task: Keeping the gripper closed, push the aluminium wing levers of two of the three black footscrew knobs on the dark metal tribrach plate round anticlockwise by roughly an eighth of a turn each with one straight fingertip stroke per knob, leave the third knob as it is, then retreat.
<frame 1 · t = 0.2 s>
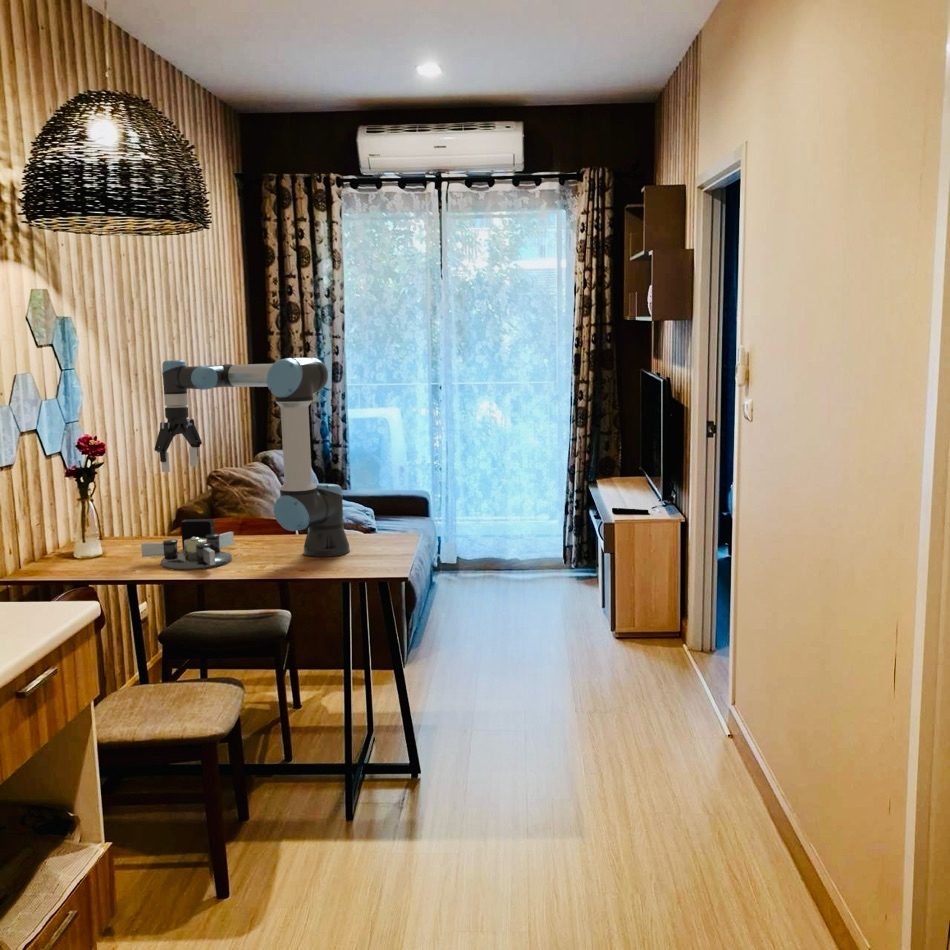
hand: (180, 469, 328), 28 cm above the table, fingers open, 13 cm apart
knob A: (160, 549, 310), point 4 cm above the table, hinge at 0.0°
knob C: (220, 541, 321), point 4 cm above the table, hinge at 0.0°
knob B: (206, 555, 301), point 4 cm above the table, hinge at 0.0°
tribrach: (196, 562, 312), on the table
electronic device: (199, 549, 331), on the table
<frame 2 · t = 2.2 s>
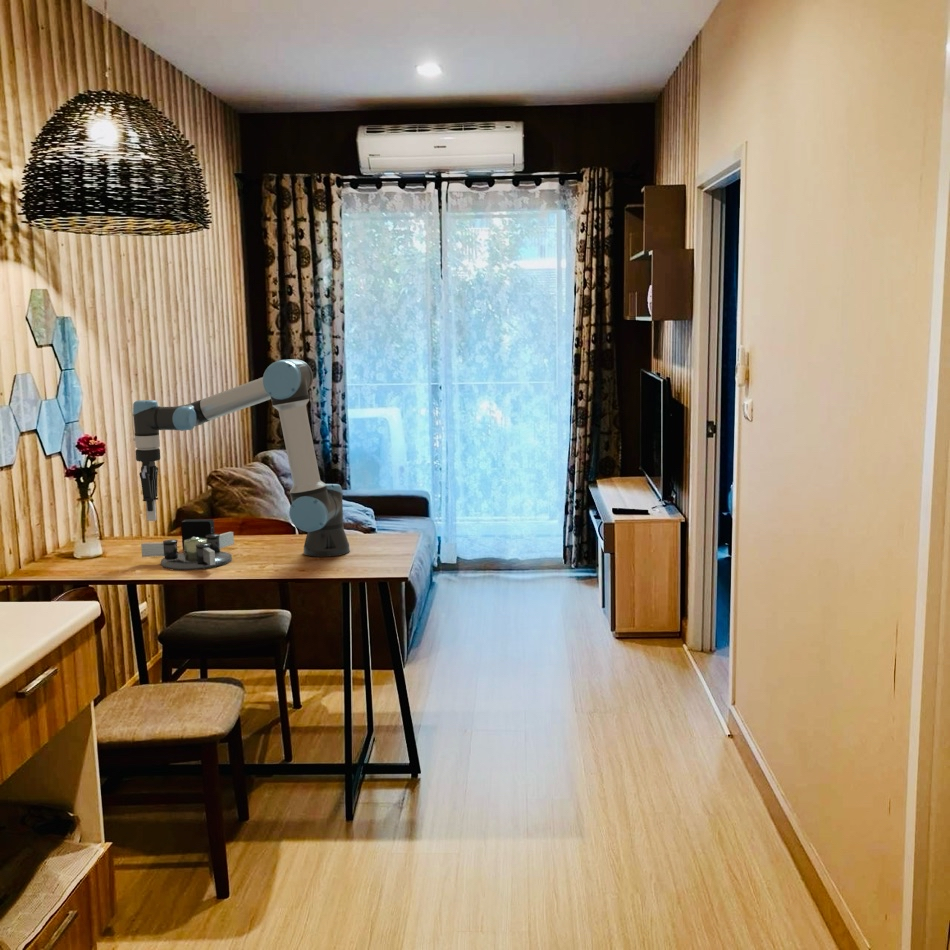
hand: (151, 520, 314), 13 cm above the table, fingers closed
nothing on the table moved.
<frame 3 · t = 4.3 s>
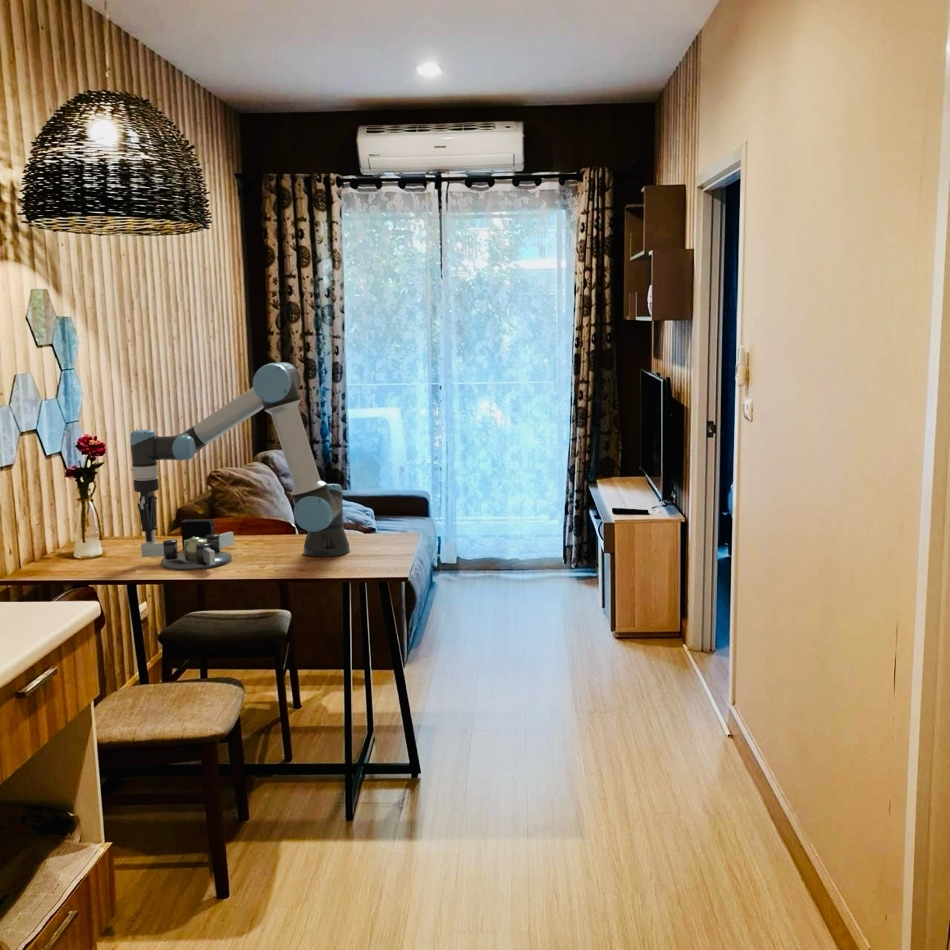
hand: (151, 550, 312), 4 cm above the table, fingers closed
knob A: (159, 549, 310), point 4 cm above the table, hinge at 1.8°, touching gripper
everything else where it was.
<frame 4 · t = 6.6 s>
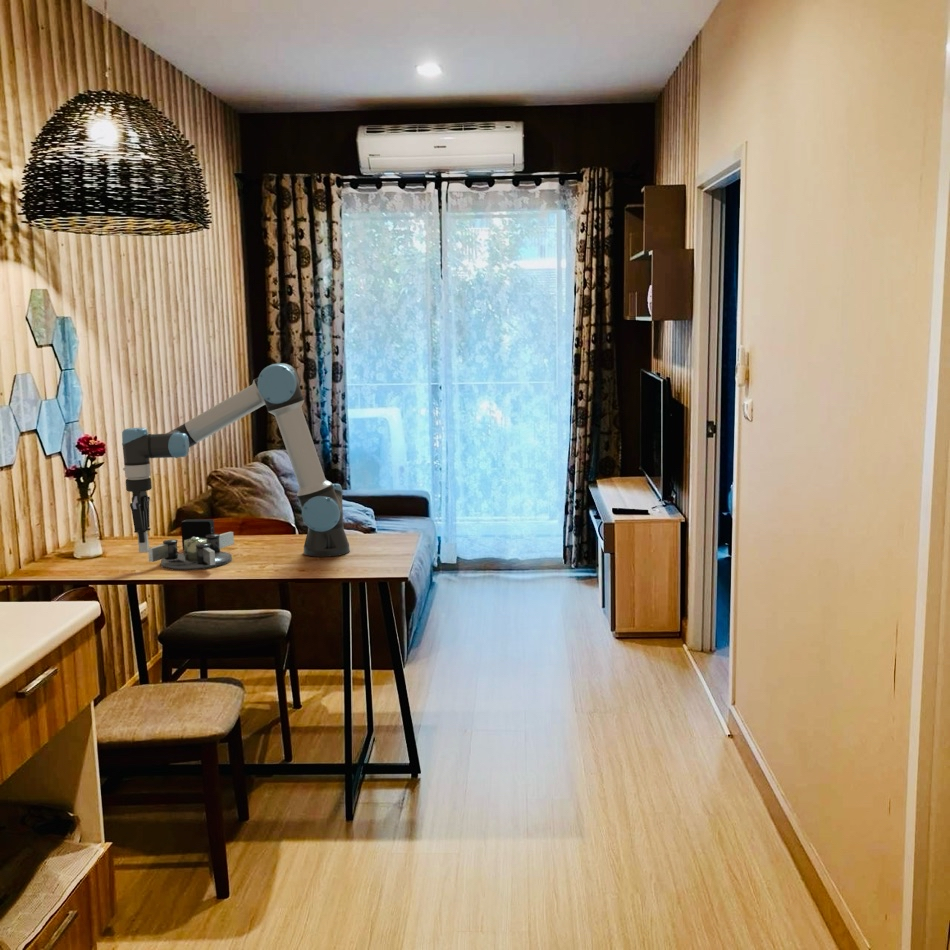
hand: (144, 551, 303), 5 cm above the table, fingers closed
knob A: (163, 551, 308), point 4 cm above the table, hinge at 62.6°
everything else where it was.
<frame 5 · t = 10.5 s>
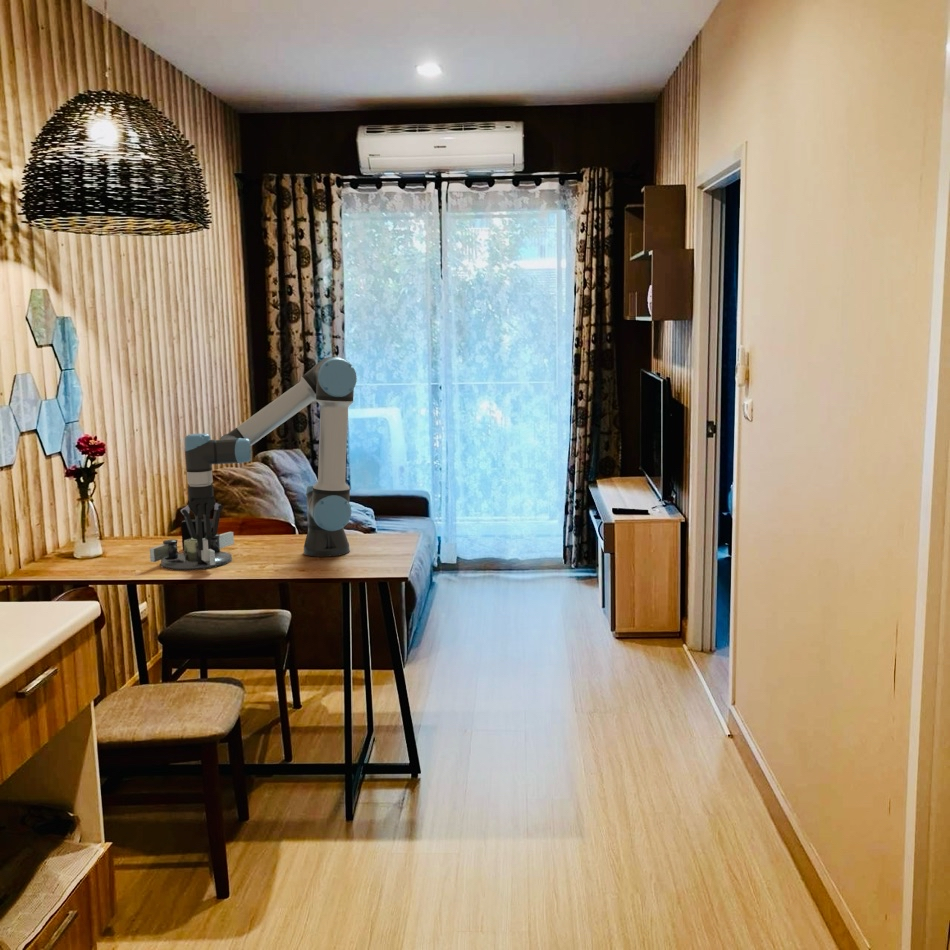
hand: (205, 559, 298), 4 cm above the table, fingers closed
knob A: (163, 551, 307), point 4 cm above the table, hinge at 66.5°
knob B: (206, 555, 301), point 4 cm above the table, hinge at 0.0°, touching gripper
everything else where it was.
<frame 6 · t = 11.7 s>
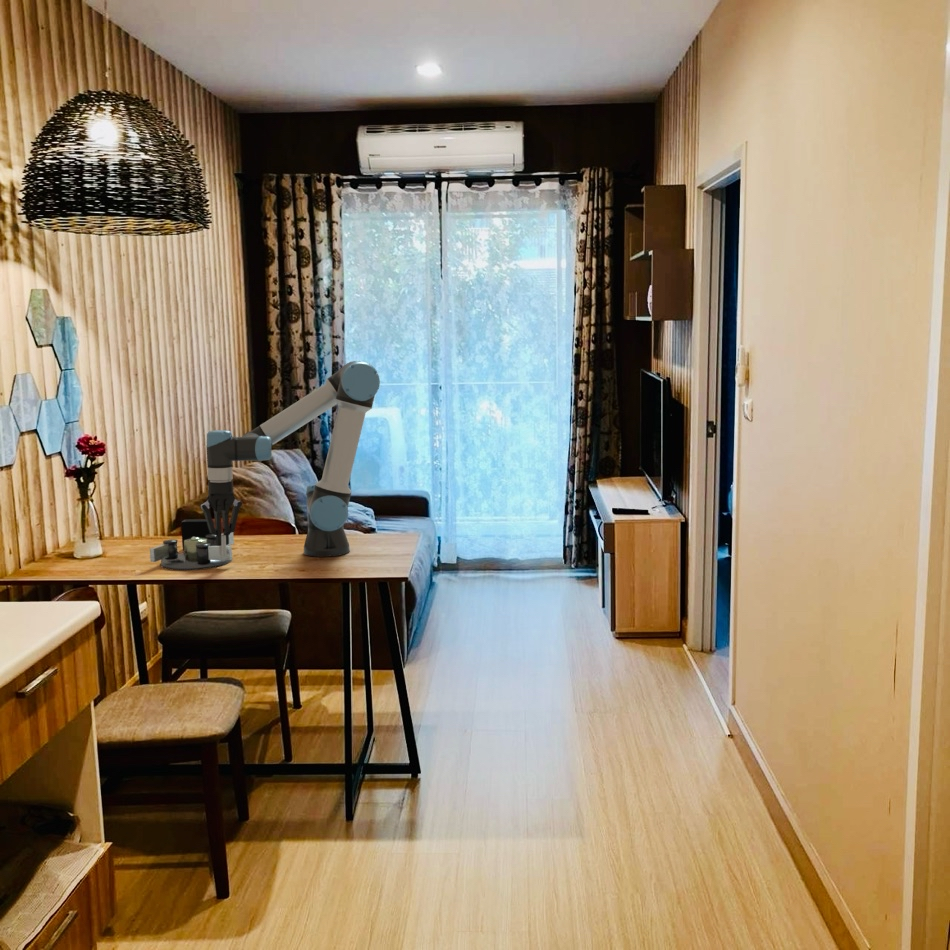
hand: (222, 555, 301), 4 cm above the table, fingers closed
knob B: (213, 553, 304), point 4 cm above the table, hinge at 49.4°, touching gripper
everything else where it was.
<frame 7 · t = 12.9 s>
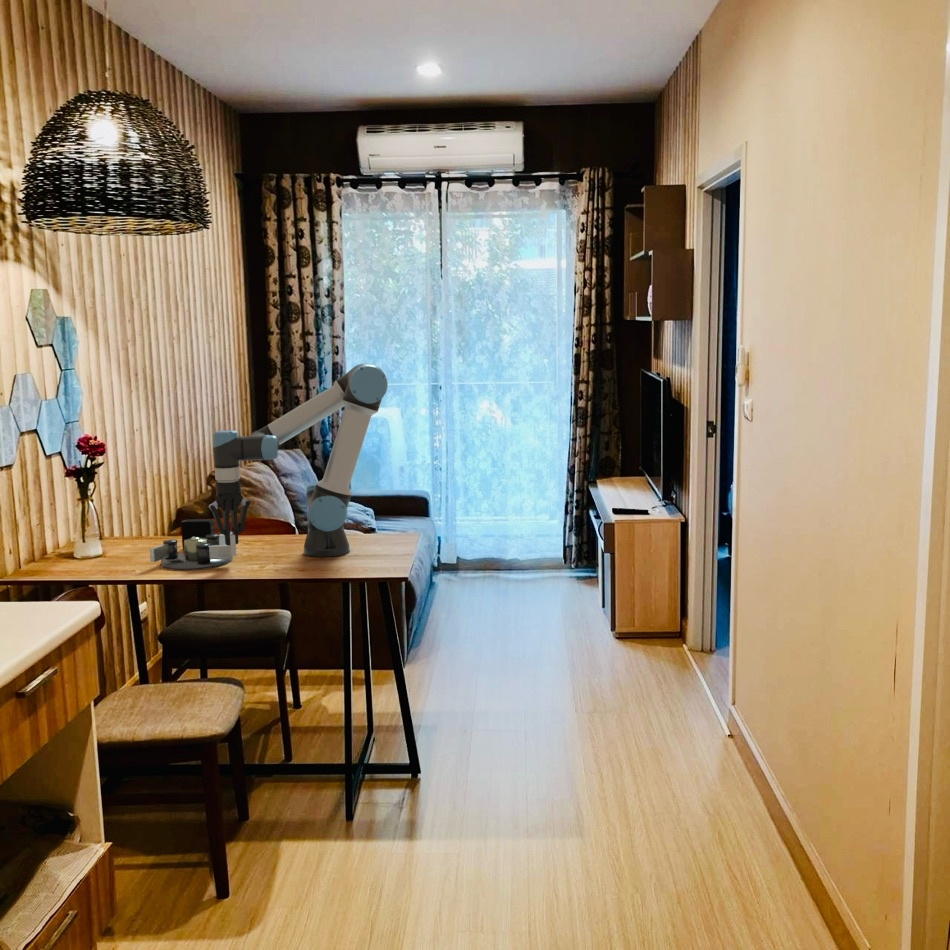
hand: (232, 554, 303), 4 cm above the table, fingers closed
knob B: (214, 552, 305), point 4 cm above the table, hinge at 61.8°
everything else where it was.
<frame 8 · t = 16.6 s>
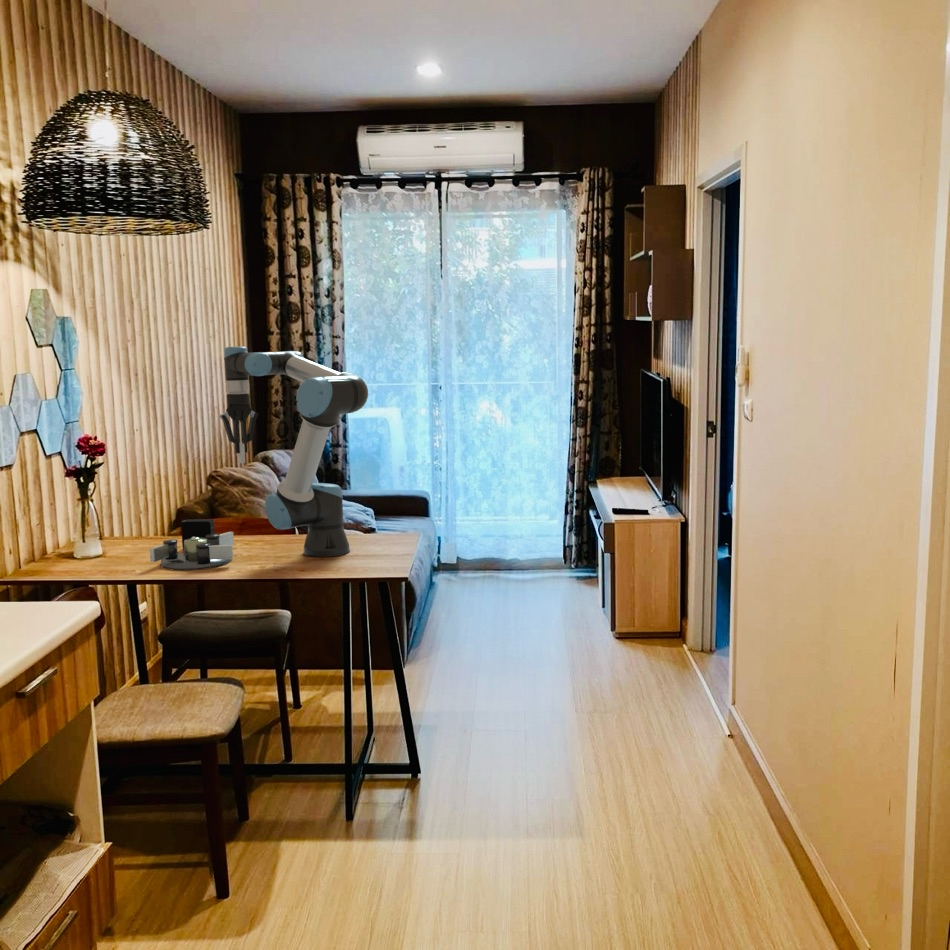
hand: (241, 462, 327), 29 cm above the table, fingers closed
nothing on the table moved.
at the end: knob A at +66° (first picture: +0°); knob B at +62° (first picture: +0°); knob C at +0° (first picture: +0°) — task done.
